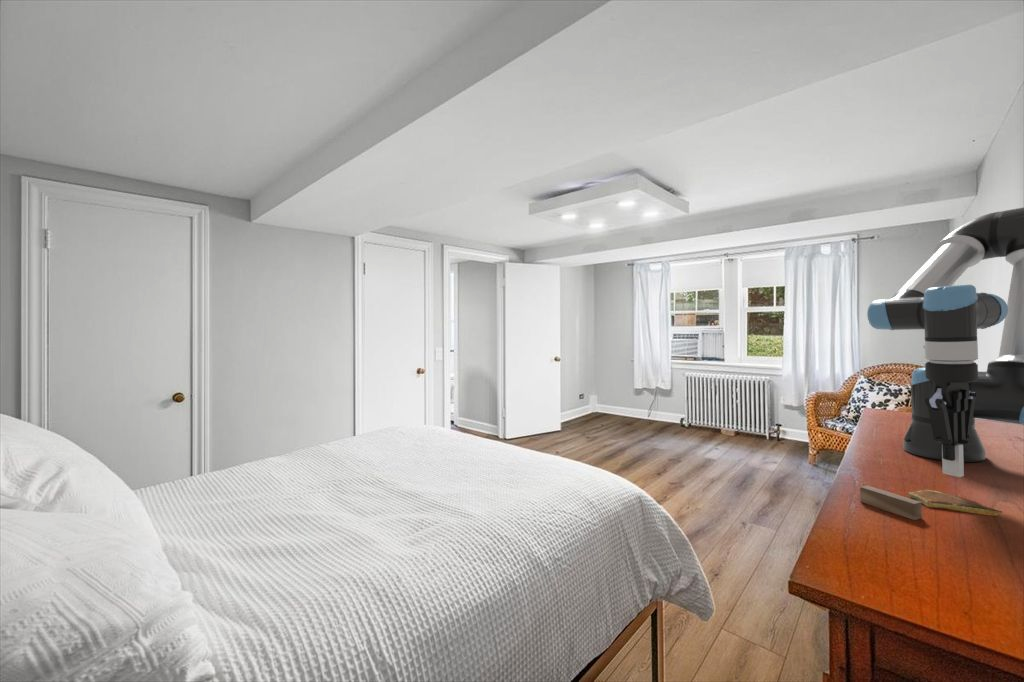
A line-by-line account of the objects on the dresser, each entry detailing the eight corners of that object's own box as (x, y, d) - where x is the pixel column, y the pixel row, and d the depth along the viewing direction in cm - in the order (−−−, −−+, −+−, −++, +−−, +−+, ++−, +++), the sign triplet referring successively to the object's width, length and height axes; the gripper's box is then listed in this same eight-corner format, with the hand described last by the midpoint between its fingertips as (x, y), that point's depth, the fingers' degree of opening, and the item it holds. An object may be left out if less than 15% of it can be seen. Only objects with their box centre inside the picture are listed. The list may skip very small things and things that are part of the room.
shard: (1002, 519, 77) (1002, 509, 77) (969, 525, 76) (969, 515, 76) (933, 496, 88) (933, 487, 88) (903, 500, 87) (903, 492, 86)
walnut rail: (867, 499, 86) (867, 485, 86) (921, 518, 78) (921, 502, 78) (860, 501, 86) (860, 487, 86) (914, 520, 77) (914, 504, 77)
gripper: (946, 357, 93) (949, 463, 94) (907, 363, 89) (910, 474, 90) (994, 359, 86) (996, 474, 87) (954, 365, 81) (957, 486, 83)
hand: (953, 474), depth 88 cm, fingers closed
